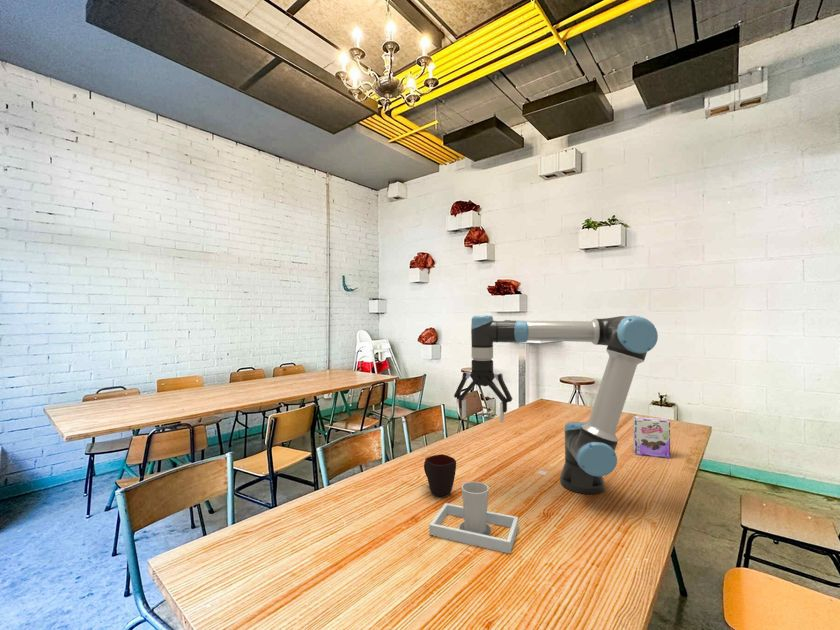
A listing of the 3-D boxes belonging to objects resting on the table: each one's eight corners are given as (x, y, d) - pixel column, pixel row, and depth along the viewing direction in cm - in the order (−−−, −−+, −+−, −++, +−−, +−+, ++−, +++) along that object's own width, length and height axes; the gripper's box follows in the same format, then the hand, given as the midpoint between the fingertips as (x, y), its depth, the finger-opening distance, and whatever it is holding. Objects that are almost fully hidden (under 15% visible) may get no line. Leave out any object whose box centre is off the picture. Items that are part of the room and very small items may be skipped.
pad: (493, 525, 116) (493, 523, 116) (486, 541, 108) (486, 539, 108) (464, 519, 120) (464, 517, 120) (455, 534, 111) (455, 532, 111)
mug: (437, 502, 130) (437, 467, 131) (415, 487, 142) (415, 455, 142) (460, 495, 136) (460, 461, 136) (437, 481, 148) (436, 449, 148)
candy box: (635, 454, 174) (634, 418, 175) (633, 450, 180) (632, 415, 180) (670, 459, 169) (670, 421, 169) (667, 454, 175) (667, 418, 175)
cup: (488, 537, 109) (488, 494, 109) (460, 534, 111) (460, 492, 111) (489, 522, 117) (489, 482, 117) (462, 519, 118) (462, 480, 118)
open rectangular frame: (518, 527, 115) (518, 517, 115) (510, 553, 102) (510, 542, 102) (445, 512, 124) (445, 503, 124) (429, 535, 111) (429, 524, 111)
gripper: (520, 359, 134) (520, 420, 134) (451, 357, 144) (452, 413, 144) (516, 361, 127) (517, 426, 127) (445, 359, 137) (445, 418, 137)
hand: (482, 419), depth 136 cm, fingers open, 13 cm apart
